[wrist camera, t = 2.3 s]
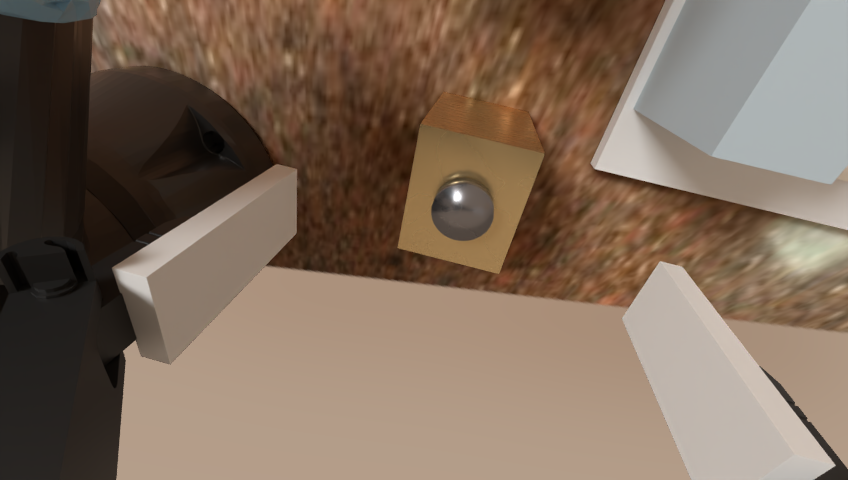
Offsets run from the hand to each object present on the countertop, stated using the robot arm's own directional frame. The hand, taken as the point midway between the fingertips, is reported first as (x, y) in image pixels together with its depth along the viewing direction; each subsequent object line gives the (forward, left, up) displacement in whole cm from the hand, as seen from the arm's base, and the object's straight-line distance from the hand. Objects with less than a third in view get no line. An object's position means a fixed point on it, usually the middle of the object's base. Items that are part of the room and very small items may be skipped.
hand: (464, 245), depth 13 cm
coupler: (0, 0, -11) cm, 11 cm away
